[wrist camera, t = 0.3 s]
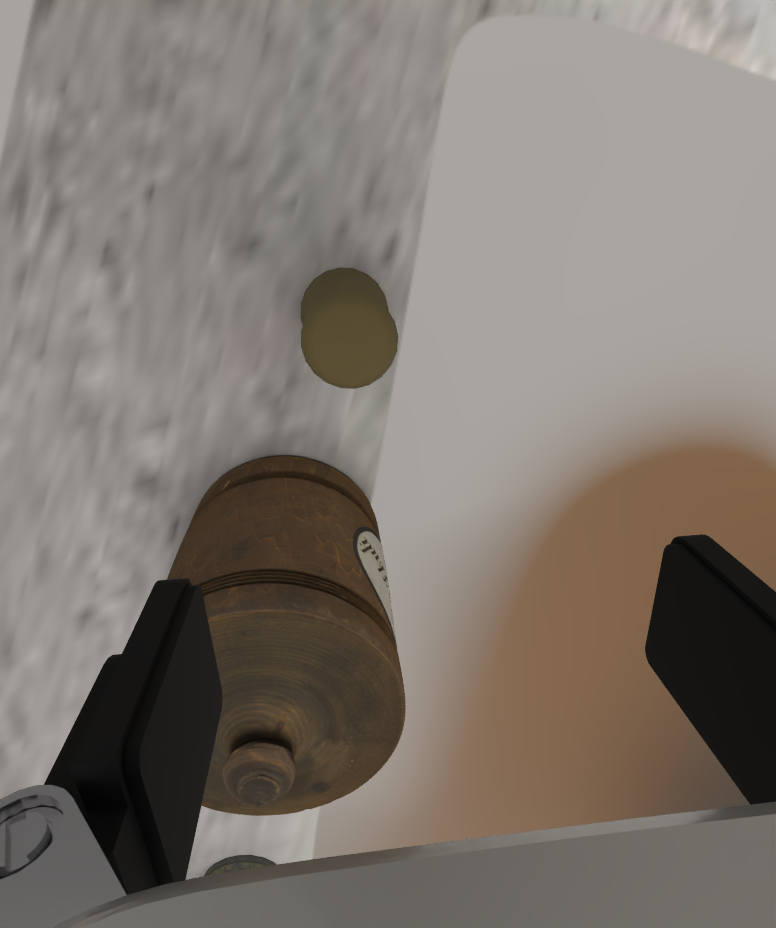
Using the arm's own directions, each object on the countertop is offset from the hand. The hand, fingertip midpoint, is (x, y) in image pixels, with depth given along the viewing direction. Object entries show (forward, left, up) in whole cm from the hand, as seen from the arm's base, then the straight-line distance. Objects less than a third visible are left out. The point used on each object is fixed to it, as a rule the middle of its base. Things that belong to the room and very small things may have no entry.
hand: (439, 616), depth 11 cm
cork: (-1, -1, -31) cm, 31 cm away
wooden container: (+16, -7, -31) cm, 36 cm away
